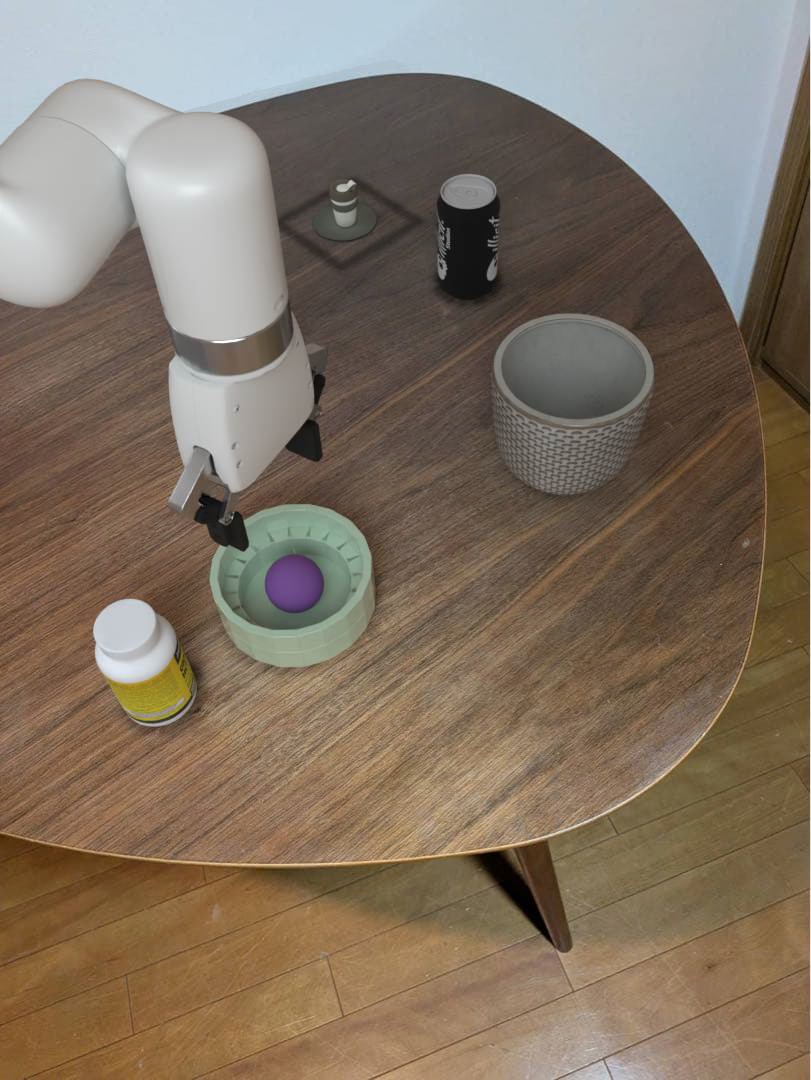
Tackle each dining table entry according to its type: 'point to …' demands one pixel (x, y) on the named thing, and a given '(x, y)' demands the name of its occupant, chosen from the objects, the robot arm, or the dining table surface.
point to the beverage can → (468, 236)
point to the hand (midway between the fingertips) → (268, 496)
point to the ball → (294, 583)
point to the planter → (569, 401)
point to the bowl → (312, 630)
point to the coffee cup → (344, 214)
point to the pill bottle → (143, 663)
